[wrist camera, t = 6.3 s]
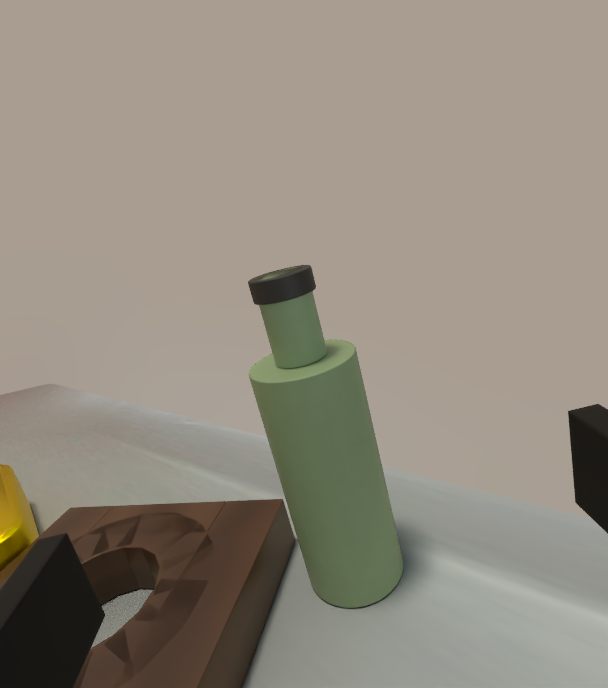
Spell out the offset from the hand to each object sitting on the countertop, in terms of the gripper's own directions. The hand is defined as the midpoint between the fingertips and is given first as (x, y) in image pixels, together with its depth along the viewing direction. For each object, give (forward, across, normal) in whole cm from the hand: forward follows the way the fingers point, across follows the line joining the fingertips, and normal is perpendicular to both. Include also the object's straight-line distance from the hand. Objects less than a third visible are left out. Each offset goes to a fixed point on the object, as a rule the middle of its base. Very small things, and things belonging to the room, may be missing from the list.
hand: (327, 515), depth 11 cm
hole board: (+8, -13, -11) cm, 19 cm away
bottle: (+10, 0, -11) cm, 14 cm away
